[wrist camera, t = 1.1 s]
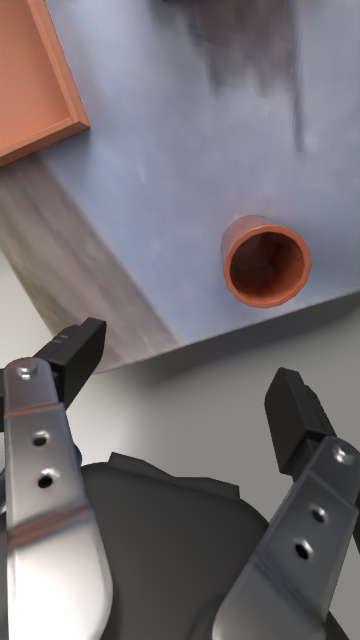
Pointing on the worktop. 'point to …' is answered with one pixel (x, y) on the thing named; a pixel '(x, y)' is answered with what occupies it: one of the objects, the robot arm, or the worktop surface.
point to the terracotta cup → (263, 261)
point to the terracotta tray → (34, 83)
